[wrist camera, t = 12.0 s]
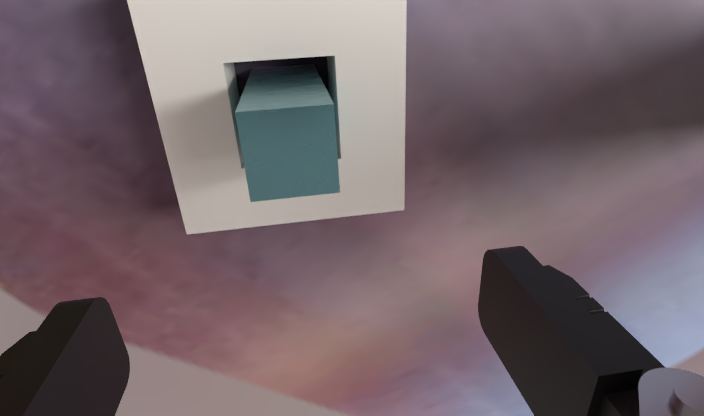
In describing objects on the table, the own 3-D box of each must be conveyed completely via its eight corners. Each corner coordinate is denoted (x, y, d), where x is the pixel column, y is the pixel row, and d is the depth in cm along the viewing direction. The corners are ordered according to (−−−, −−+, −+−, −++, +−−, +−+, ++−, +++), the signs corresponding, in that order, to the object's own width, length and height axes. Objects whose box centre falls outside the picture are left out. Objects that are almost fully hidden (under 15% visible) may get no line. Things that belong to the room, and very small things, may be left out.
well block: (385, -27, 26) (406, -32, 22) (387, 181, 33) (404, 210, 28) (150, -16, 25) (122, -19, 20) (199, 200, 31) (186, 234, 27)
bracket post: (313, 63, 28) (334, 104, 18) (318, 123, 30) (340, 192, 19) (252, 68, 28) (235, 112, 17) (260, 128, 29) (250, 202, 19)
